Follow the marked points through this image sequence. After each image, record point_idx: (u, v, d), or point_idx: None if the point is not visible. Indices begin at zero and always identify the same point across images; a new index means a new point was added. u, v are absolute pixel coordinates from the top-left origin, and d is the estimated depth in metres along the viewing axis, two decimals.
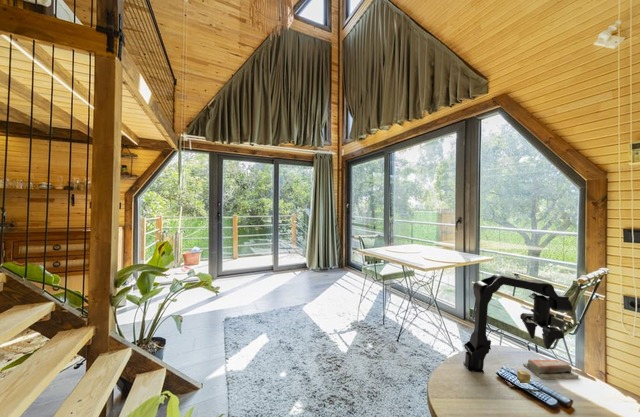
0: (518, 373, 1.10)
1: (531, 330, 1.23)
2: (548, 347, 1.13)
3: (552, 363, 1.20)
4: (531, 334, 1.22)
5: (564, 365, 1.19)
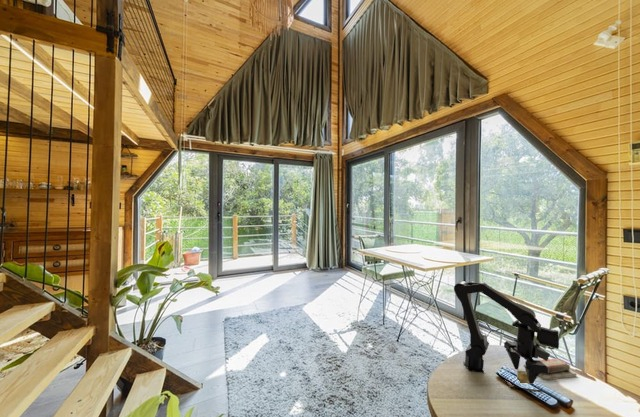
0: (518, 373, 1.10)
1: (515, 360, 1.14)
2: (531, 381, 1.05)
3: (552, 362, 1.21)
4: (515, 365, 1.14)
5: (563, 364, 1.20)
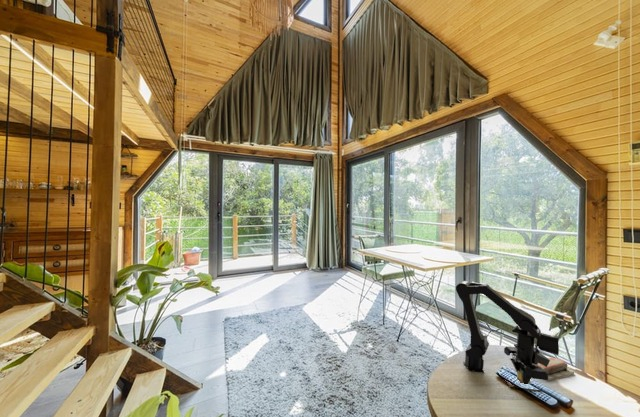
0: (518, 373, 1.10)
1: (520, 370, 1.11)
2: (526, 382, 1.08)
3: (551, 362, 1.21)
4: None
5: (561, 363, 1.21)
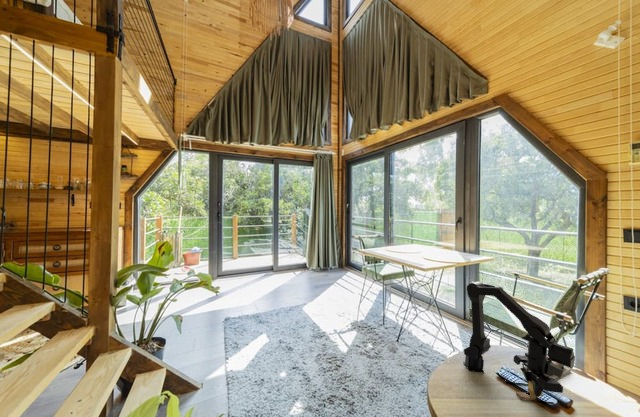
0: (529, 384, 1.03)
1: None
2: (538, 393, 1.01)
3: None
4: None
5: None
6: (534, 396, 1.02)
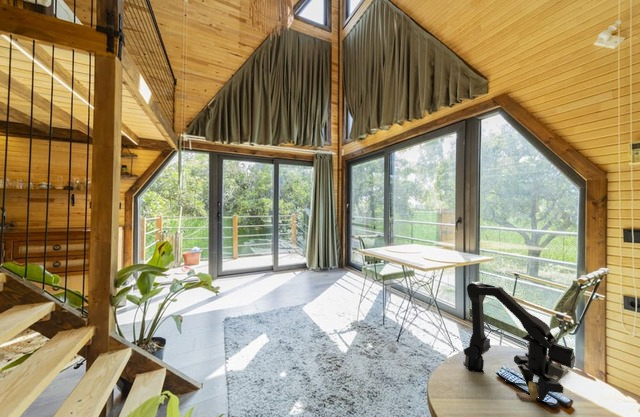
0: (529, 384, 1.03)
1: (529, 378, 1.06)
2: (542, 397, 0.99)
3: None
4: (528, 383, 1.06)
5: None
6: (534, 396, 1.02)
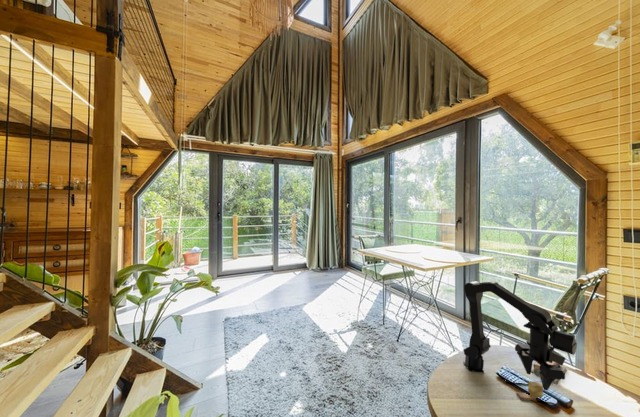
0: (529, 384, 1.03)
1: (528, 364, 1.07)
2: (546, 387, 0.97)
3: None
4: (527, 369, 1.07)
5: None
6: (534, 396, 1.02)
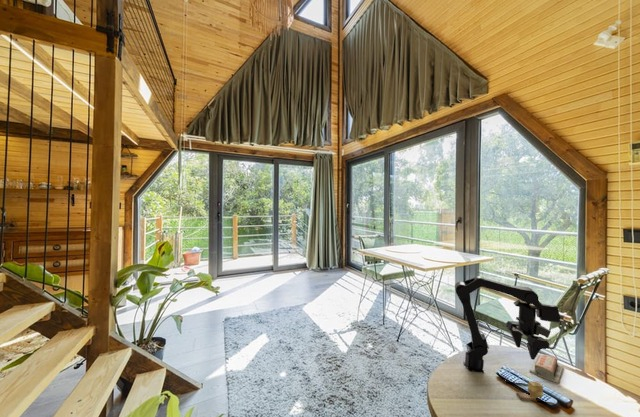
0: (529, 384, 1.03)
1: (517, 339, 1.18)
2: (533, 357, 1.09)
3: (548, 360, 1.22)
4: (517, 343, 1.18)
5: (555, 359, 1.23)
6: (534, 396, 1.02)
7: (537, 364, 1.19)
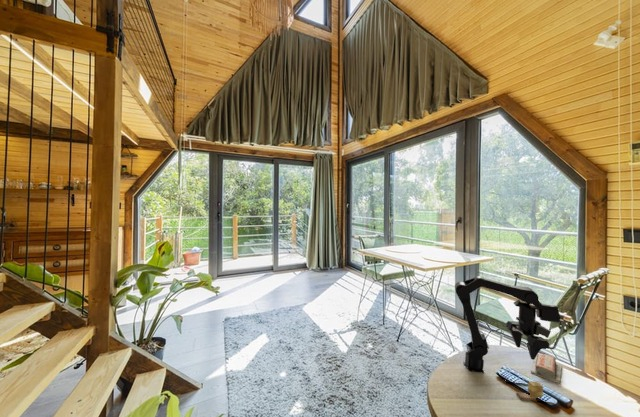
0: (529, 384, 1.03)
1: (517, 339, 1.18)
2: (533, 357, 1.09)
3: (548, 360, 1.22)
4: (517, 343, 1.18)
5: (553, 359, 1.24)
6: (534, 396, 1.02)
7: (538, 365, 1.19)
